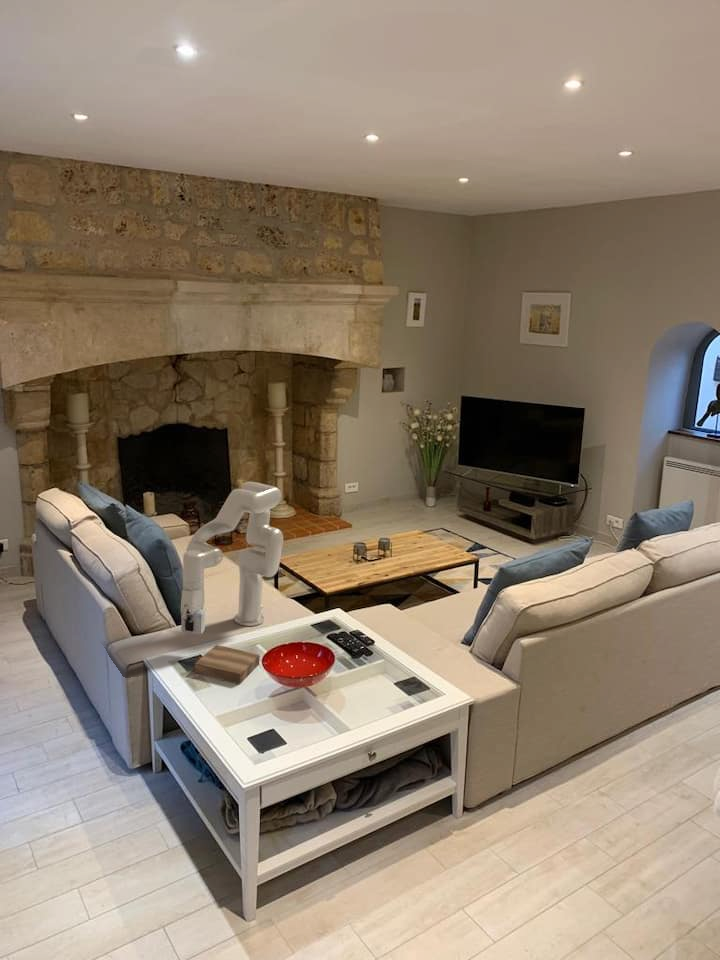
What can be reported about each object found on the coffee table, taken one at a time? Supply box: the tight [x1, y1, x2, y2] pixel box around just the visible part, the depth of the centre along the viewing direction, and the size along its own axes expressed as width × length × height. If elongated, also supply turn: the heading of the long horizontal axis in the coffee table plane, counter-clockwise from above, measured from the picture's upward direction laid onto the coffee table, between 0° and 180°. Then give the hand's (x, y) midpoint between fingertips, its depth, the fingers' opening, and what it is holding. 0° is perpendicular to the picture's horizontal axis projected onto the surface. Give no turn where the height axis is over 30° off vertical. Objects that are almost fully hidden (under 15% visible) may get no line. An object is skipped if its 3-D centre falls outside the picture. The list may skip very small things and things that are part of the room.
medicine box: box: [180, 608, 206, 635], centre depth 274 cm, size 8×4×9 cm, turn 84°
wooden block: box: [194, 644, 260, 685], centre depth 266 cm, size 16×18×4 cm
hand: (193, 626), depth 275 cm, fingers closed on medicine box, 5 cm apart
